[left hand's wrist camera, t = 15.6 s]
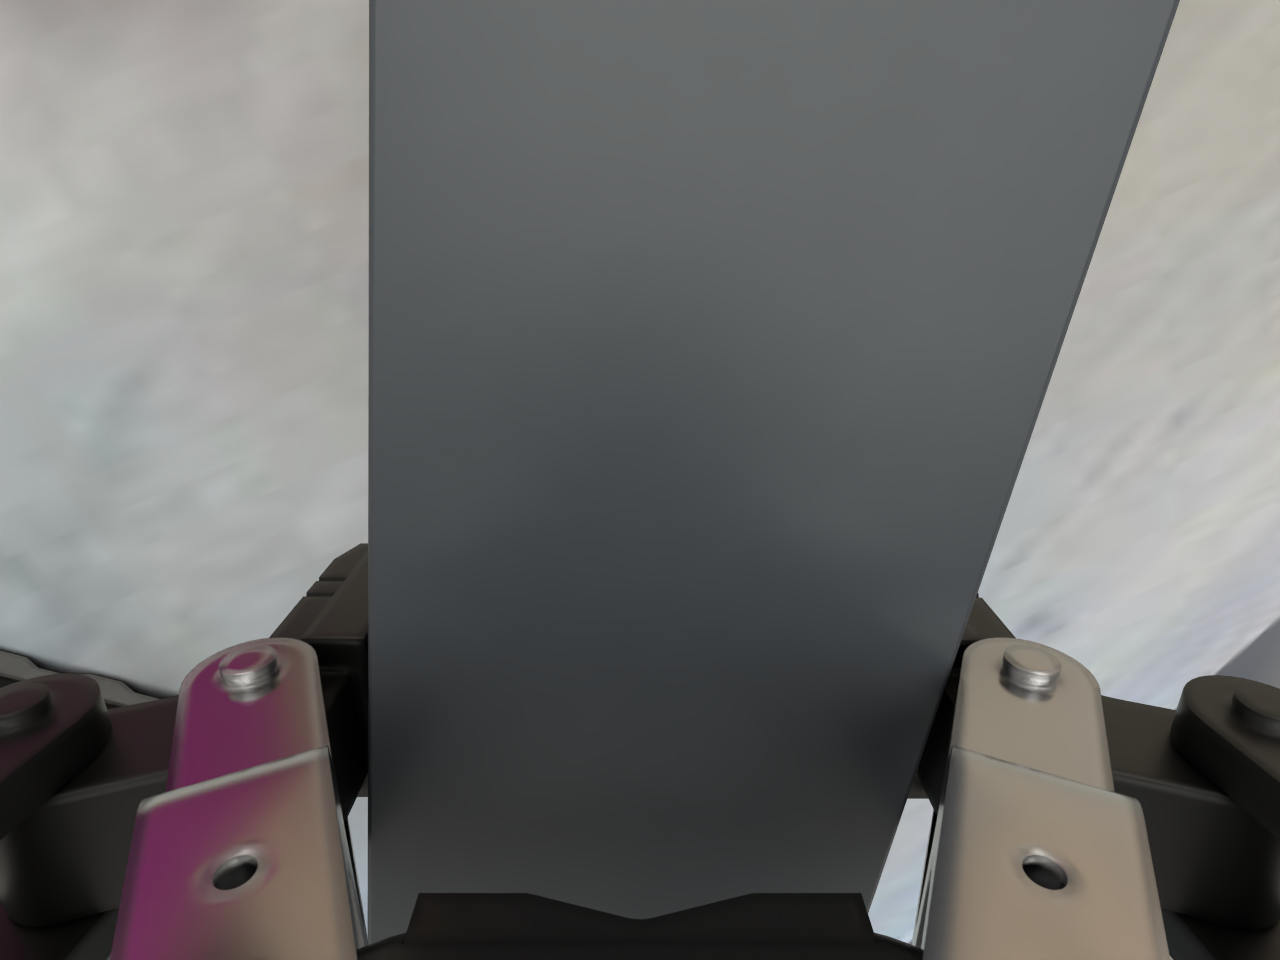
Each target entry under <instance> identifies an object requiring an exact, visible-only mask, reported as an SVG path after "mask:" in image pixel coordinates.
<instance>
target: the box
mask: <svg viewBox="0 0 1280 960" xmlns="http://www.w3.org/2000/svg"><path fill="white" fill-rule="evenodd" d="M1179 1H1180V0H369V498H368V945H369V944H372V943H375V942H378V941H380V940H383V939H386V938H389V937H392V936H395V935H399V934H403V933H406V932H407V929H408V926H409V922H410V919H411V916H412V913H413V910H414V907H415V903H416V900H417V897H418V894H419V893H530V894H534V895H538V896H542V897H546V898H550V899H554V900H558V901H562V902H566V903H570V904H574V905H578V906H582V907H586V908H590V909H594V910H598V911H602V912H606V913H610V914H614V915H618V916H622V917H626V918H632V919H648V918H654V917H658V916H662V915H666V914H670V913H674V912H678V911H682V910H686V909H690V908H694V907H698V906H702V905H706V904H710V903H714V902H718V901H722V900H726V899H730V898H734V897H738V896H742V895H746V894H750V893H861V894H862V897H863V900H864V903H865V907H866V910H867V913H868V912H869V909H870V906H871V903H872V900H873V897H874V894H875V891H876V889H877V886H878V883H879V880H880V877H881V874H882V871H883V868H884V865H885V862H886V859H887V856H888V853H889V850H890V847H891V845H892V842H893V839H894V836H895V833H896V830H897V827H898V824H899V821H900V818H901V815H902V812H903V809H904V806H905V804H906V801H907V798H908V795H909V792H910V789H911V786H912V783H913V780H914V777H915V774H916V771H917V768H918V765H919V763H920V760H921V757H922V754H923V751H924V748H925V745H926V742H927V739H928V736H929V733H930V730H931V727H932V724H933V722H934V719H935V716H936V713H937V710H938V707H939V704H940V701H941V698H942V695H943V692H944V689H945V686H946V683H947V681H948V678H949V675H950V672H951V669H952V666H953V663H954V660H955V657H956V654H957V651H958V648H959V645H960V642H961V640H962V637H963V634H964V631H965V628H966V625H967V622H968V619H969V616H970V613H971V610H972V607H973V604H974V601H975V599H976V596H977V593H978V590H979V587H980V584H981V581H982V578H983V575H984V572H985V569H986V566H987V563H988V560H989V558H990V555H991V552H992V549H993V546H994V543H995V540H996V537H997V534H998V531H999V528H1000V525H1001V522H1002V519H1003V517H1004V514H1005V511H1006V508H1007V505H1008V502H1009V499H1010V496H1011V493H1012V490H1013V487H1014V484H1015V481H1016V478H1017V476H1018V473H1019V470H1020V467H1021V464H1022V461H1023V458H1024V455H1025V452H1026V449H1027V446H1028V443H1029V440H1030V437H1031V435H1032V432H1033V429H1034V426H1035V423H1036V420H1037V417H1038V414H1039V411H1040V408H1041V405H1042V402H1043V399H1044V396H1045V393H1046V391H1047V388H1048V385H1049V382H1050V379H1051V376H1052V373H1053V370H1054V367H1055V364H1056V361H1057V358H1058V355H1059V352H1060V350H1061V347H1062V344H1063V341H1064V338H1065V335H1066V332H1067V329H1068V326H1069V323H1070V320H1071V317H1072V314H1073V311H1074V309H1075V306H1076V303H1077V300H1078V297H1079V294H1080V291H1081V288H1082V285H1083V282H1084V279H1085V276H1086V273H1087V270H1088V268H1089V265H1090V262H1091V259H1092V256H1093V253H1094V250H1095V247H1096V244H1097V241H1098V238H1099V235H1100V232H1101V229H1102V227H1103V224H1104V221H1105V218H1106V215H1107V212H1108V209H1109V206H1110V203H1111V200H1112V197H1113V194H1114V191H1115V188H1116V186H1117V183H1118V180H1119V177H1120V174H1121V171H1122V168H1123V165H1124V162H1125V159H1126V156H1127V153H1128V150H1129V147H1130V145H1131V142H1132V139H1133V136H1134V133H1135V130H1136V127H1137V124H1138V121H1139V118H1140V115H1141V112H1142V109H1143V106H1144V104H1145V101H1146V98H1147V95H1148V92H1149V89H1150V86H1151V83H1152V80H1153V77H1154V74H1155V71H1156V68H1157V65H1158V63H1159V60H1160V57H1161V54H1162V51H1163V48H1164V45H1165V42H1166V39H1167V36H1168V33H1169V30H1170V27H1171V24H1172V22H1173V19H1174V16H1175V13H1176V10H1177V7H1178V4H1179Z"/></svg>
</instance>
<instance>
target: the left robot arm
mask: <svg viewBox="0 0 1280 960" xmlns="http://www.w3.org/2000/svg"><path fill="white" fill-rule="evenodd" d="M357 797H368V544H359V545H358V546H356V547H354V548H353V549H351V550H349V551H347V552H346V553H344V554H342V555H341V556H339V557H337V558H336V559H334V560H333V562H332V563H331V564H330V565H329V566H328V568H327V569H326V570H325V571H324V572H323V574H322V575H321V576H320V577H319V581H316V582H315V583H314V584H313V586H312V587H311V588H310V589H309V590H308V592H307V596H306V597H303V598H302V599H301V600H300V601H299V602H298V604H297V605H296V606H295V607H294V608H293V610H292V611H291V612H290V613H289V615H288V616H287V617H286V618H285V619H284V621H283V622H282V623H281V624H280V625H279V627H278V628H277V629H276V630H275V631H274V633H273V634H272V635H271V636H270V637H269V638H265V639H258V640H253V641H248V642H245V643H241V644H238V645H235V646H232V647H229V648H227V649H224V650H222V651H220V652H218V653H216V654H214V655H212V656H210V657H208V658H207V659H205V660H204V661H202V662H201V663H199V664H198V665H197V666H196V667H195V668H193V669H192V670H191V671H190V672H189V674H188V675H187V676H186V677H185V679H184V680H183V682H182V684H181V687H180V692H179V695H178V696H173V697H169V698H164V699H159V700H154V701H148V702H143V703H138V704H133V705H128V706H122V707H117V708H112V709H107V708H106V705H105V702H104V699H103V696H102V693H101V690H100V687H99V685H98V683H97V682H96V681H95V680H94V679H92V678H91V677H88V676H85V675H81V674H73V673H62V674H51V675H44V676H39V677H34V678H30V679H26V680H23V681H19V682H16V683H13V684H10V685H7V686H4V687H2V688H0V960H107V958H108V957H109V956H110V955H111V956H110V960H1170V956H1171V957H1172V958H1173V959H1174V960H1280V689H1278V688H1276V687H1273V686H1270V685H1267V684H1263V683H1260V682H1257V681H1253V680H1248V679H1244V678H1238V677H1232V676H1220V675H1213V676H1202V677H1198V678H1195V679H1192V680H1191V681H1189V682H1188V683H1187V684H1186V685H1185V687H1184V689H1183V692H1182V695H1181V698H1180V701H1179V704H1178V707H1177V710H1171V709H1166V708H1161V707H1156V706H1151V705H1145V704H1140V703H1135V702H1130V701H1125V700H1119V699H1115V698H1110V697H1106V696H1102V695H1101V692H1100V687H1099V684H1098V682H1097V680H1096V679H1095V677H1094V676H1093V675H1092V674H1091V672H1090V671H1089V670H1088V669H1087V668H1085V667H1084V666H1083V665H1082V664H1081V663H1079V662H1078V661H1076V660H1075V659H1073V658H1072V657H1070V656H1068V655H1066V654H1064V653H1062V652H1060V651H1058V650H1056V649H1053V648H1051V647H1048V646H1045V645H1042V644H1039V643H1035V642H1032V641H1027V640H1022V639H1016V638H1015V637H1014V635H1013V634H1012V633H1011V632H1010V631H1009V630H1008V628H1007V627H1006V626H1005V625H1004V624H1003V622H1002V621H1001V620H1000V619H999V618H998V616H997V615H996V614H995V613H994V612H993V610H992V609H991V608H990V607H989V606H988V605H987V603H986V602H985V601H984V600H983V599H982V598H979V597H978V593H977V596H976V599H975V601H974V604H973V607H972V610H971V613H970V616H969V619H968V622H967V625H966V628H965V631H964V634H963V637H962V640H961V642H960V645H959V648H958V651H957V654H956V657H955V660H954V663H953V666H952V669H951V672H950V675H949V678H948V681H947V683H946V686H945V689H944V692H943V695H942V698H941V701H940V704H939V707H938V710H937V713H936V716H935V719H934V722H933V724H932V727H931V730H930V733H929V736H928V739H927V742H926V745H925V748H924V751H923V754H922V757H921V760H920V763H919V765H918V768H917V771H916V774H915V777H914V780H913V783H912V786H911V789H910V792H909V795H908V798H928V799H929V800H930V802H931V804H932V806H933V809H934V811H933V816H932V821H931V827H930V832H929V837H928V844H927V850H926V856H925V863H924V869H923V876H922V882H921V888H920V895H919V901H918V907H917V914H916V920H915V926H914V933H913V939H912V945H911V944H908V943H905V942H902V941H900V940H897V939H894V938H891V937H888V936H885V935H881V934H877V933H874V932H873V929H872V926H871V922H870V919H869V916H868V913H867V910H866V907H865V903H864V900H863V897H862V894H861V893H750V894H746V895H742V896H738V897H734V898H730V899H726V900H722V901H718V902H714V903H710V904H706V905H702V906H698V907H694V908H690V909H686V910H682V911H678V912H674V913H670V914H666V915H662V916H658V917H654V918H648V919H632V918H626V917H622V916H618V915H614V914H610V913H606V912H602V911H598V910H594V909H590V908H586V907H582V906H578V905H574V904H570V903H566V902H562V901H558V900H554V899H550V898H546V897H542V896H538V895H534V894H530V893H419V894H418V897H417V900H416V903H415V907H414V910H413V913H412V916H411V919H410V922H409V926H408V929H407V932H406V933H403V934H399V935H395V936H392V937H389V938H386V939H383V940H380V941H378V942H375V943H372V944H369V945H368V939H367V933H366V926H365V920H364V914H363V907H362V901H361V895H360V888H359V882H358V876H357V869H356V863H355V856H354V850H353V844H352V837H351V832H350V826H349V821H348V815H349V813H350V811H351V808H352V806H353V804H354V802H355V800H356V798H357ZM1169 955H1170V956H1169Z"/></svg>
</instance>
